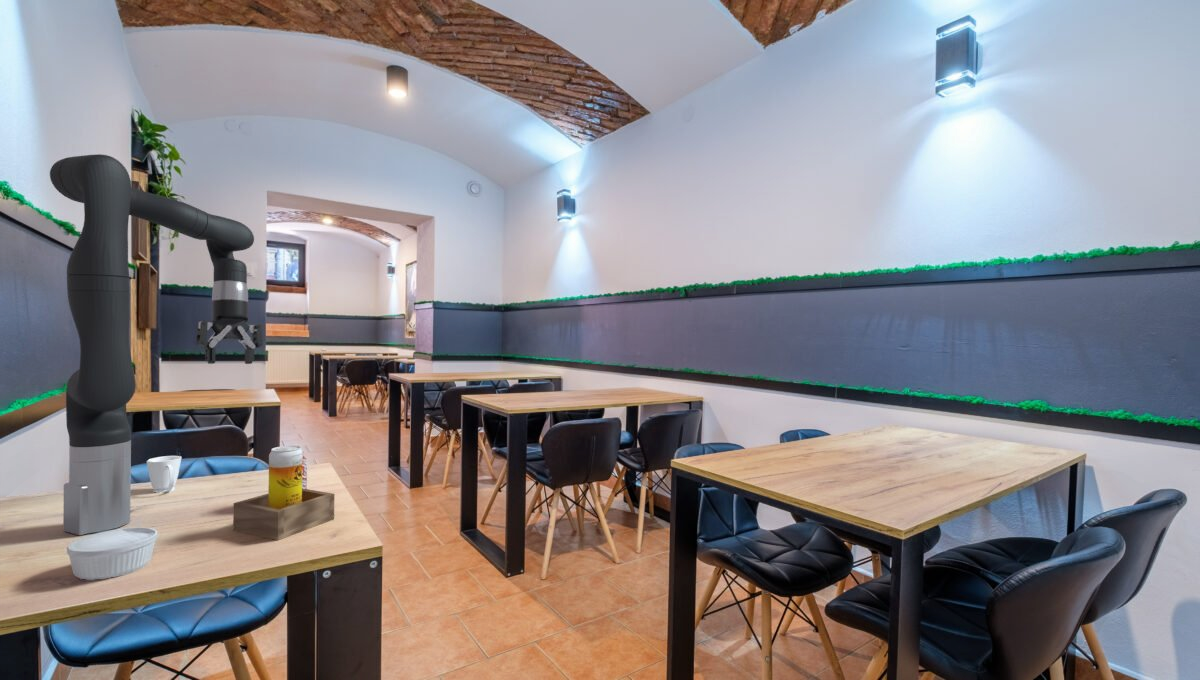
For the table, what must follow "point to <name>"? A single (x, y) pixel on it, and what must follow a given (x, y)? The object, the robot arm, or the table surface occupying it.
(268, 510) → the walnut crate
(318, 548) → the table surface
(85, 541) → the ramekin
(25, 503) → the table surface
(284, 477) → the beer can
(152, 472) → the cup
